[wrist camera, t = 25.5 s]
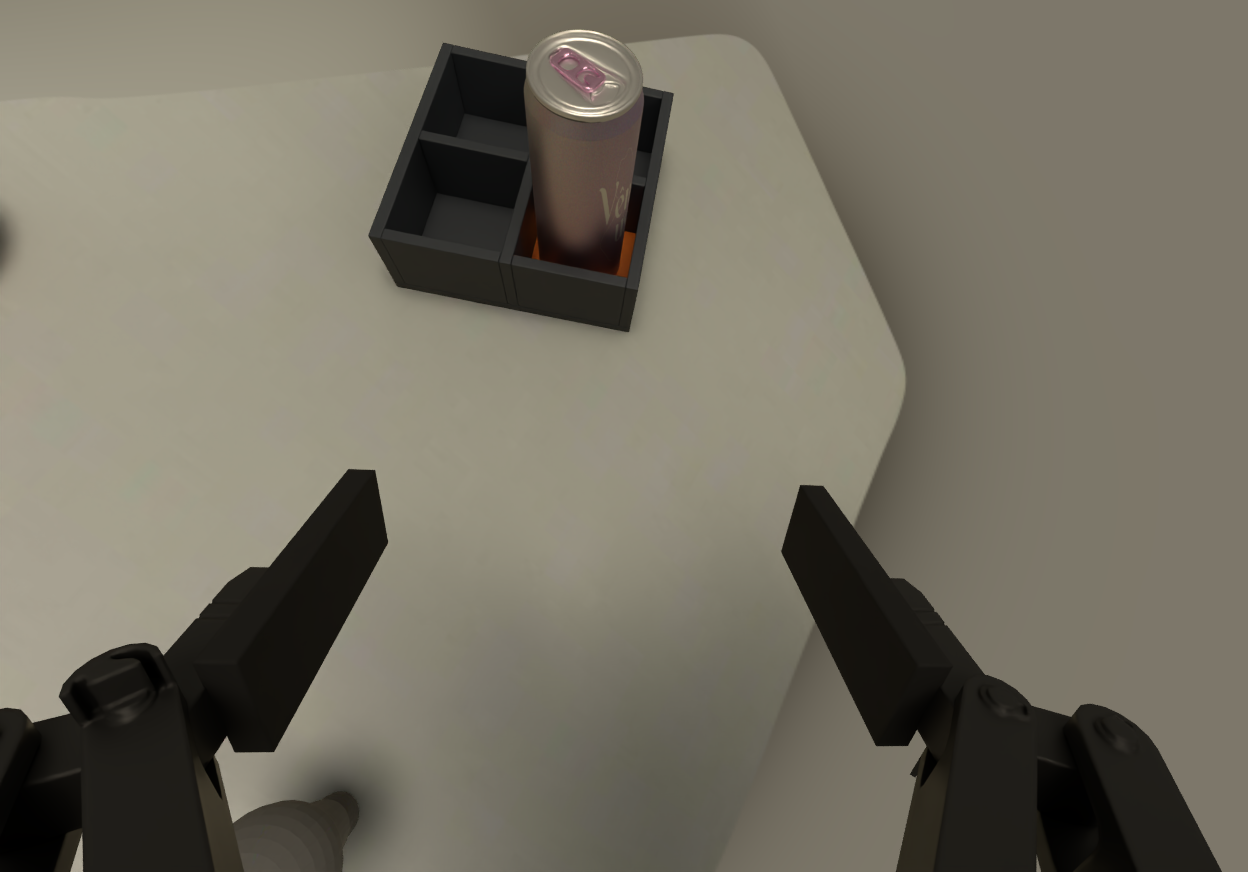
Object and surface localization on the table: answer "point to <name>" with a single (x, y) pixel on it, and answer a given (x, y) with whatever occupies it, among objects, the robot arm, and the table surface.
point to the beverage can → (582, 145)
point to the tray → (500, 200)
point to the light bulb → (297, 835)
